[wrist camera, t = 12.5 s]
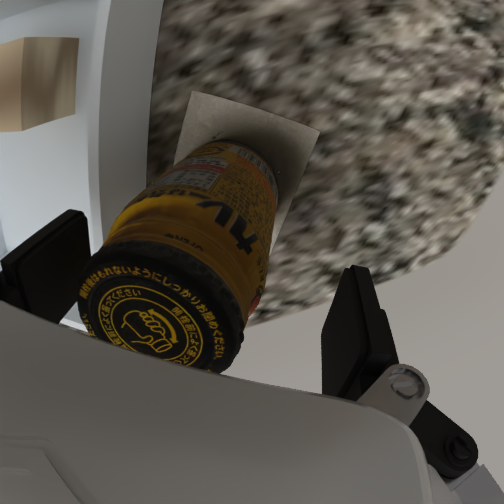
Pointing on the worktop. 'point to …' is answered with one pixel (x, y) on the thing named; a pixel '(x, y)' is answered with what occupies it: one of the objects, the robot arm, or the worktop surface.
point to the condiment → (198, 238)
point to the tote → (82, 121)
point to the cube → (37, 81)
